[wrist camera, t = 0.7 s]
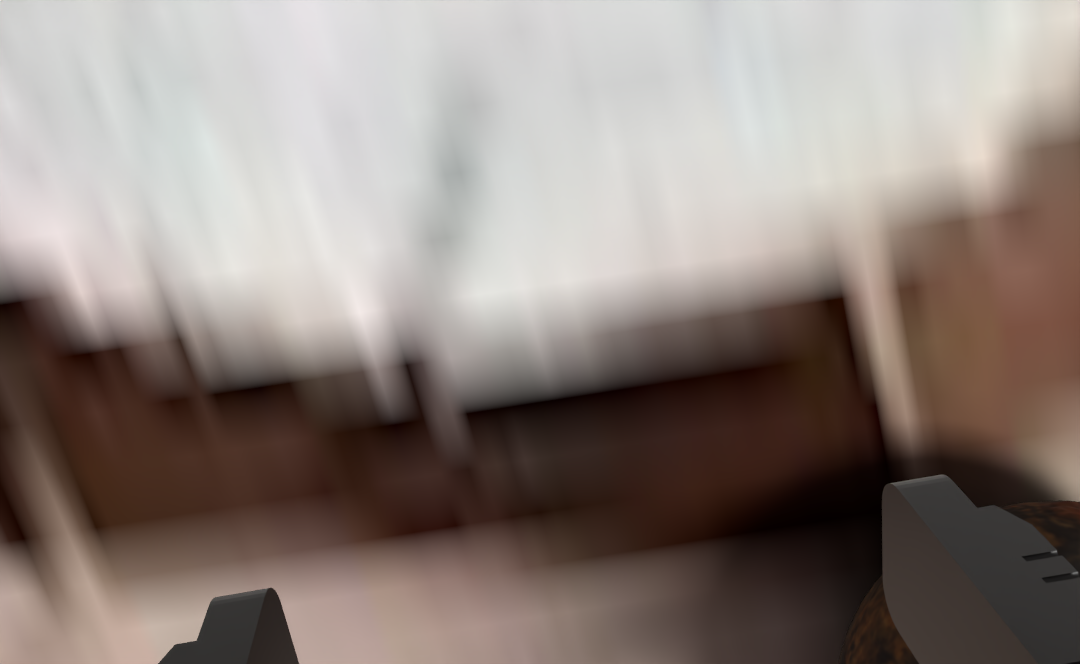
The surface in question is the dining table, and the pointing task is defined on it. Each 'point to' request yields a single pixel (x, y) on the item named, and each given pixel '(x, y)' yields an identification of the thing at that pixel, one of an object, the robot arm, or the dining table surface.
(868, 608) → the glass bottle
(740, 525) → the dining table surface
